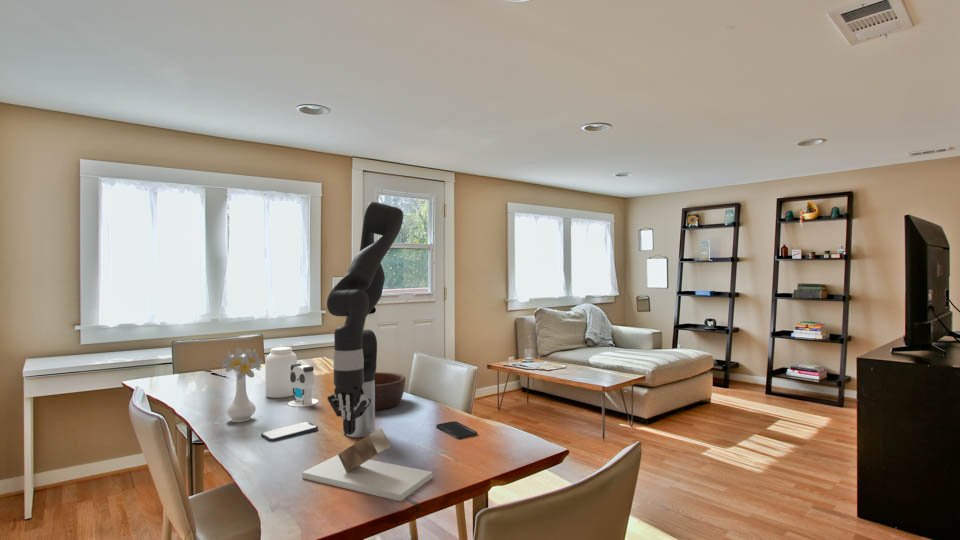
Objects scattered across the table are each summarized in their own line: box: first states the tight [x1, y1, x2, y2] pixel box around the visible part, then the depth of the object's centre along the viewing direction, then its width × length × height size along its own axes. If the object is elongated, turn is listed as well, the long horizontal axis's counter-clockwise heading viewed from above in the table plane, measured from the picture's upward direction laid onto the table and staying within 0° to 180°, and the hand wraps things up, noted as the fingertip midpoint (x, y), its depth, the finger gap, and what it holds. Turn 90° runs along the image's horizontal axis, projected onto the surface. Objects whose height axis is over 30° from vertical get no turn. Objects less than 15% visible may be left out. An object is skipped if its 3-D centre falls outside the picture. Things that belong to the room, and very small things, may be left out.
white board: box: [301, 454, 433, 502], centre depth 127 cm, size 30×14×2 cm, turn 64°
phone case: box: [260, 421, 319, 443], centre depth 162 cm, size 9×2×16 cm
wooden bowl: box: [375, 371, 406, 412], centre depth 196 cm, size 25×25×10 cm
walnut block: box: [337, 427, 391, 473], centre depth 127 cm, size 5×5×12 cm
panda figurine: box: [287, 363, 319, 408], centre depth 199 cm, size 12×11×15 cm
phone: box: [435, 420, 478, 440], centre depth 163 cm, size 8×1×15 cm
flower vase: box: [220, 347, 264, 423], centre depth 176 cm, size 13×18×25 cm
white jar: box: [264, 346, 298, 399], centre depth 212 cm, size 12×12×20 cm
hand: (349, 433), depth 129 cm, fingers closed
